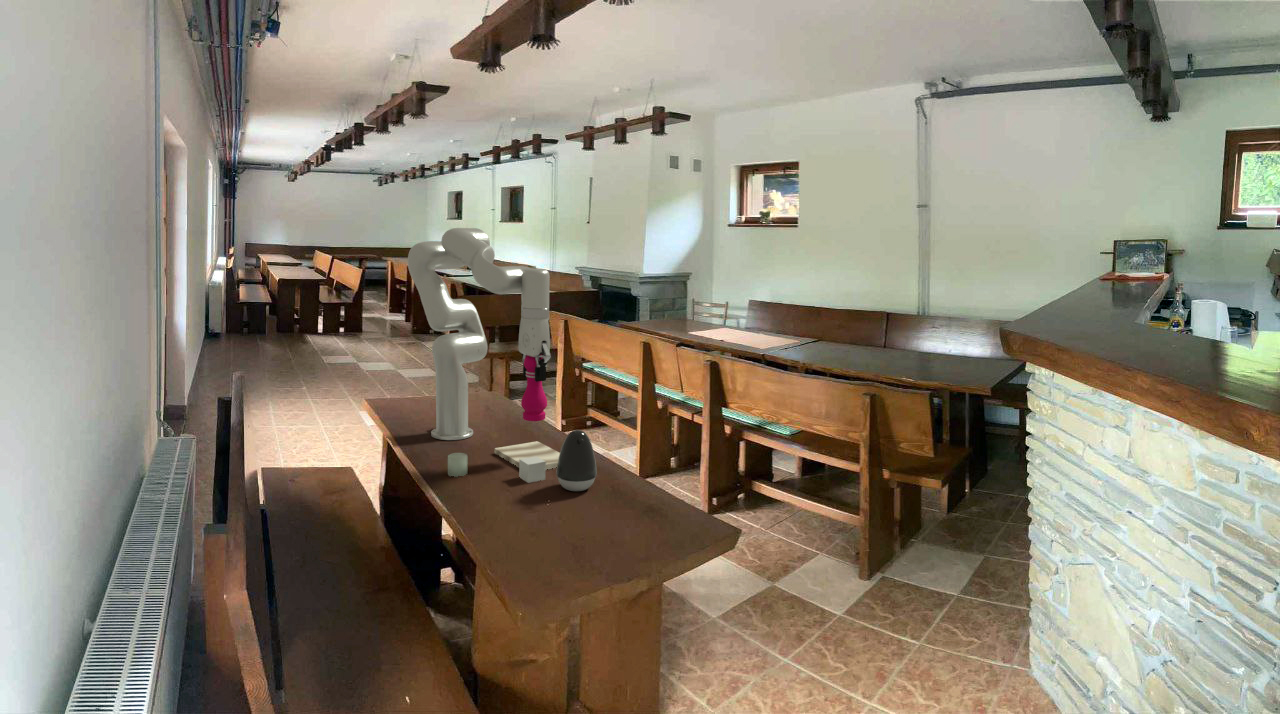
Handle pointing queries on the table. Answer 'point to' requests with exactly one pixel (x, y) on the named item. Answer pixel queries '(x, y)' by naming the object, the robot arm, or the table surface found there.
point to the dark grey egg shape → (576, 462)
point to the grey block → (532, 469)
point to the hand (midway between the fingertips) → (534, 378)
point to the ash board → (529, 453)
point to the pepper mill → (533, 394)
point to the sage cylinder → (457, 464)
